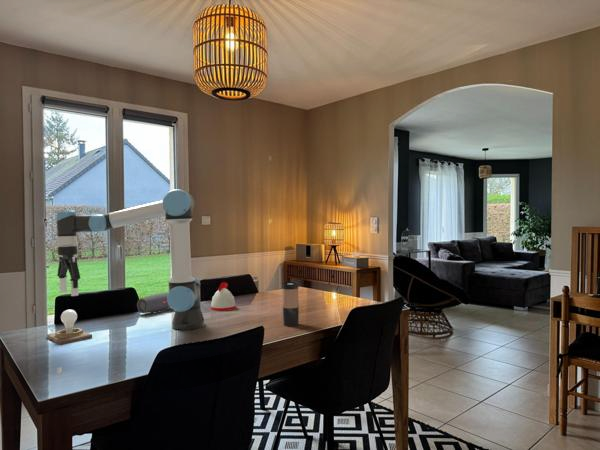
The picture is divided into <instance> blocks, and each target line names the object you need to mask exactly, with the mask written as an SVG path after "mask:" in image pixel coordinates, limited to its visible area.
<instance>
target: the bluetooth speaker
mask: <svg viewBox="0 0 600 450" xmlns="http://www.w3.org/2000/svg"><path fill="white" fill-rule="evenodd" d="M168 293H169V291H168V292H162V293H160V292H159V293H156V294H151V295H147V296H144V297H141V298H139V299H138V300H137V303H136V307H137V310H138V312H139V313H140V314H147V313H150V312H151V313H150V314H155V313H154V312H158V313H160V312H159V311H162V312H165V310H166V311H168V310H169V309H172V308H171V307H170V306H169V305H168V302H167V295H168Z"/></svg>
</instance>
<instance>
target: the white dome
mask: <svg viewBox="0 0 600 450" xmlns="http://www.w3.org/2000/svg"><path fill="white" fill-rule="evenodd" d="M228 285H229V284H228V283H227V282H225V281H224V282H221V283H220V284H219V287H217V289H218V290H217V291H216V292H214V295H213V296H212V297H211V303H210V310H212V311H215V312H224V311H225V312H226V311H231V310H235V309H236V302H235V296H234V295H233V294H232V292H231V291H230V290H229V289H228V287H229V286H228Z"/></svg>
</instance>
